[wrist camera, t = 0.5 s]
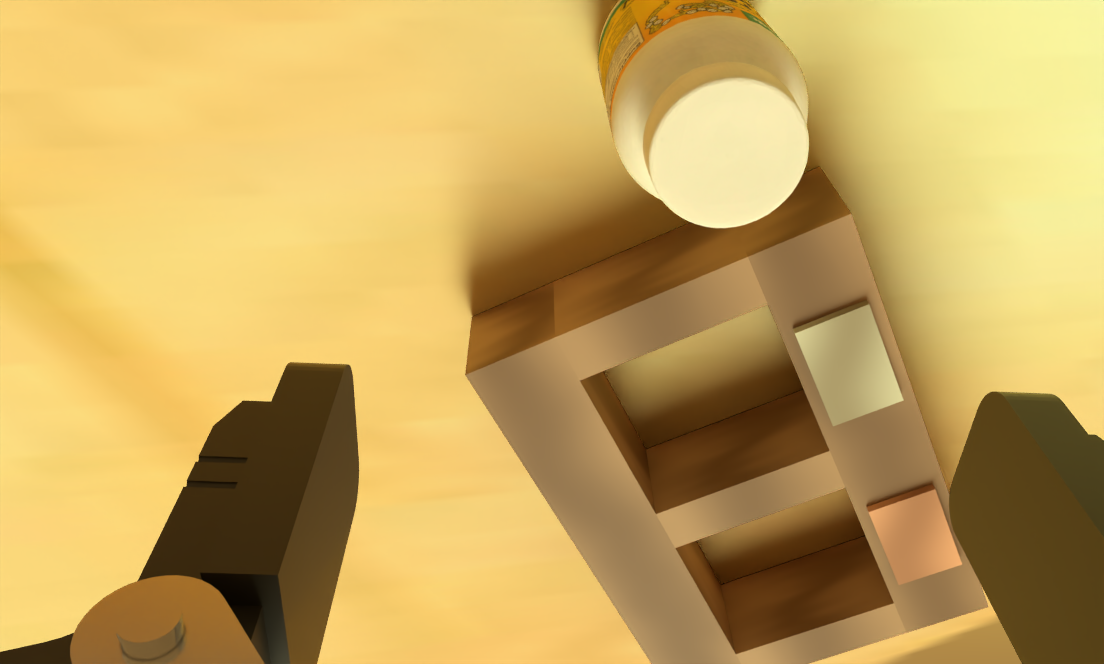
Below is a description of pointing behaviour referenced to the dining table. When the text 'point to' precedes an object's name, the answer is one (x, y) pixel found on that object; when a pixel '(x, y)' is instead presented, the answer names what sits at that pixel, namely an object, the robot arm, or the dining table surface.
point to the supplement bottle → (704, 107)
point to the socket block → (733, 441)
